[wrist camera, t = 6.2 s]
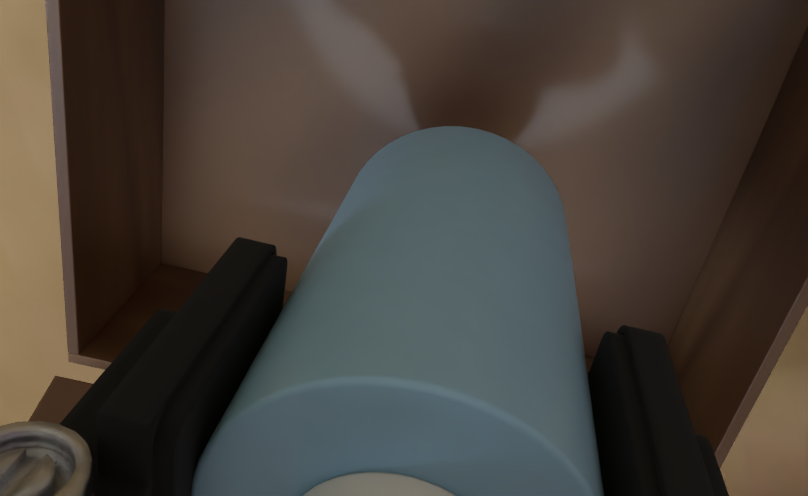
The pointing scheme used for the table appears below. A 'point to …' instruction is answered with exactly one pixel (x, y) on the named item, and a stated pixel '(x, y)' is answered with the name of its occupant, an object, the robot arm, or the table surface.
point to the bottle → (423, 342)
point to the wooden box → (435, 107)
